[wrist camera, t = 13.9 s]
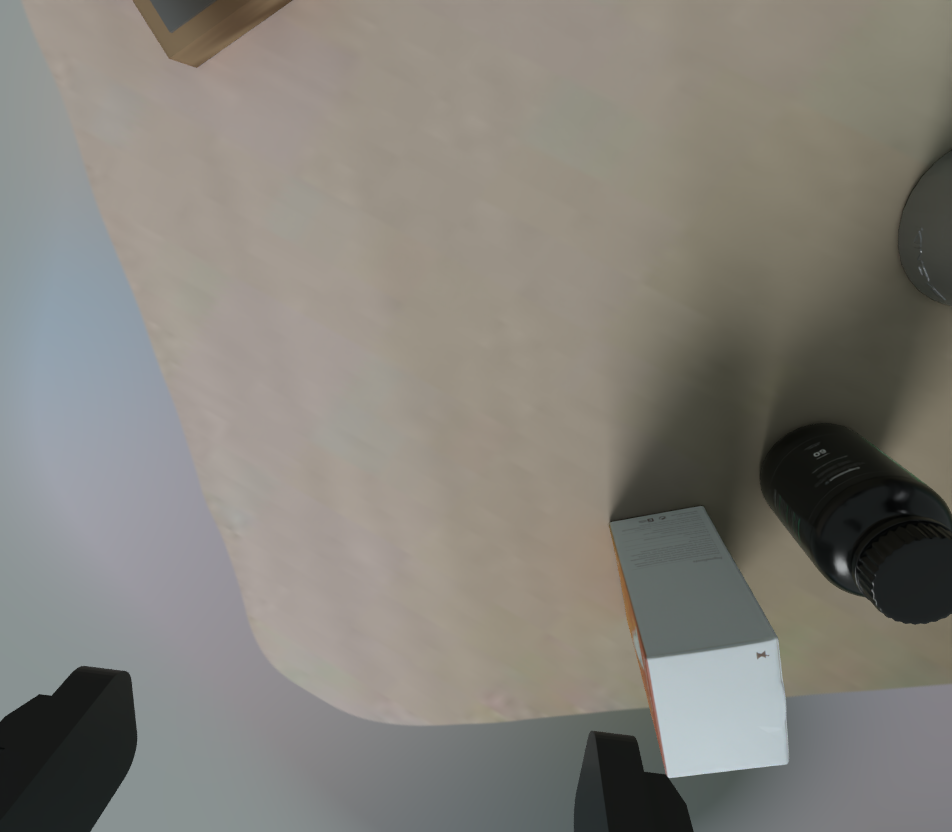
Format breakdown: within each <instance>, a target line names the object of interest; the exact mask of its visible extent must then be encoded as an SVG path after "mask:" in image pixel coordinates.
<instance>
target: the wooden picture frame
mask: <svg viewBox="0 0 952 832" xmlns="http://www.w3.org/2000/svg"><path fill="white" fill-rule="evenodd" d="M291 1H292V0H133V2H134V3H135V5H136V7H137V8H138V10H139V11H140V13H141V15H142V16H143V18H144V19H145V21H146V23H147V24H148V26H149V27H150V29H151V31H152V32H153V34H154V35H155V37H156V38H157V40H158V42H159V43H160V45H161V46H162V48H163V50H164V51H165V53H166V54H167V56H168V58H169V59H172V60H175V61H178V62H181V63H184V64H187V65H190V66H193V67H196V68H197V67H198V66H200V65H201V64H202V63H204V62H205V61H207V60H208V59H210V58H211V57H212V56H214V55H215V54H217V53H218V52H220V51H221V50H222V49H224V48H225V47H227V46H228V45H230V44H231V43H232V42H234V41H235V40H237V39H238V38H239V37H241V36H242V35H244V34H245V33H247V32H248V31H249V30H251V29H252V28H254V27H255V26H257V25H258V24H259V23H261V22H262V21H264V20H265V19H267V18H268V17H269V16H271V15H272V14H274V13H275V12H276V11H278V10H279V9H281V8H282V7H284V6H285V5H286V4H288V3H289V2H291Z"/></svg>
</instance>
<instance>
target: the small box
mask: <svg viewBox="0 0 952 832" xmlns="http://www.w3.org/2000/svg"><path fill="white" fill-rule="evenodd" d="M609 528H610V532H611V537H612V541H613V546H614V551H615V555H616V560H617V566H618V571H619V576H620V581H621V587H622V593H623V598H624V604H625V610H626V616H627V621H628V625H629V629H630V632H631V636H632V640H633V644H634V648H635V652H636V656H637V659H638V663H639V667H640V671H641V675H642V680H643V683H644V687H645V691H646V695H647V699H648V703H649V707H650V712H651V715H652V719H653V723H654V726H655V731H656V734H657V739H658V743H659V747H660V751H661V755H662V759H663V764H664V768H665V772H666V775H667V777H668V778H673V777H681V776H691V775H697V774H706V773H714V772H725V771H732V770H741V769H750V768H758V767H767V766H776V765H786V764H788V762H789V748H788V734H787V721H786V698H785V689H784V684H783V679H782V670H781V660H780V652H779V641H778V637H777V635H776V634H775V632H774V630H773V628H772V627H771V625H770V623H769V621H768V619H767V618H766V616H765V614H764V612H763V611H762V609H761V607H760V605H759V604H758V602H757V600H756V598H755V597H754V595H753V593H752V591H751V589H750V588H749V586H748V584H747V582H746V581H745V579H744V577H743V575H742V574H741V572H740V570H739V568H738V567H737V565H736V563H735V562H734V560H733V558H732V557H731V555H730V553H729V551H728V550H727V548H726V546H725V544H724V543H723V541H722V539H721V537H720V535H719V534H718V532H717V530H716V528H715V526H714V524H713V522H712V521H711V519H710V517H709V515H708V514H707V512H706V510H705V508H704V507H703V506H698V507H692V508H686V509H680V510H674V511H669V512H663V513H658V514H652V515H647V516H641V517H636V518H631V519H625V520H620V521H614V522H610V523H609Z"/></svg>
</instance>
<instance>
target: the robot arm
mask: <svg viewBox="0 0 952 832" xmlns="http://www.w3.org/2000/svg"><path fill="white" fill-rule="evenodd" d="M898 248H899V253H900V258H901V263H902V266H903V268H904V270H905V272H906V274H907V276H908V278H909V279H910V281H911V282H912V283H913V284H914V285H915V286H916V287H917V289H918V290H919V291H921V292H922V293H924V294H925V295H927V296H928V297H929V298H931V299H933V300H935V301H938V302H941V303H944V304H946V305H949V306H952V150H951V151H949V152H948V153H947V154H945V155H944V156H943V157H941V158H940V159H939V160H937V162H936V163H935V164H934V165H933V166H932V167H931V168H930V169H929V170H928V171H927V172H926V173H925V174H924V175H923V176H922V178H921V179H920V181H919V182H918V184H917V185H916V187H915V188H914V190H913V191H912V193H911V195H910V197H909V199H908V201H907V204H906V206H905V208H904V210H903V214H902V218H901V222H900V226H899V239H898ZM136 745H137V730H136V720H135V710H134V700H133V691H132V682H131V677H130V674H129V673H128V672H126V671H120V670H112V669H104V668H96V667H88V666H81V667H79V668H77V669H76V670H75V671H73V672H72V673H71V674H70V676H69V677H68V678H67V679H66V680H65V681H64V682H63V684H62V685H61V686H60V687H59V688H58V689H57V690H56V691H55V693H54V694H53V695H52V696H49V695H40V694H39V695H38V696H36V697H35V698H33V699H31V700H30V701H28V702H27V703H25V704H24V705H22V706H21V707H19V708H18V709H16V710H15V711H13V712H11V713H10V714H8V715H7V716H5V717H4V718H3V719H2V721H1V722H0V832H90V831H91V830H92V828H93V827H94V825H95V823H96V822H97V820H98V819H99V817H100V816H101V814H102V812H103V811H104V809H105V808H106V806H107V805H108V803H109V801H110V800H111V798H112V797H113V795H114V794H115V792H116V791H117V789H118V788H119V786H120V784H121V783H122V781H123V780H124V778H125V776H126V774H127V773H128V771H129V769H130V766H131V764H132V761H133V758H134V755H135V751H136ZM574 832H693V828H692V824H691V820H690V817H689V813H688V809H687V805H686V803H685V802H684V800H683V799H682V798H681V796H680V794H679V793H678V792H677V790H676V788H675V787H674V786H673V784H672V783H671V781H670V780H669V778H668V777H667V775H665V774H657V773H648V772H644V770H643V765H642V760H641V756H640V751H639V747H638V743H637V740H636V738H635V737H634V736H630V735H622V734H614V733H606V732H597V731H591V732H590V733H589V737H588V740H587V745H586V750H585V755H584V759H583V764H582V768H581V773H580V778H579V783H578V787H577V792H576V797H575V807H574Z"/></svg>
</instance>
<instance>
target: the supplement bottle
mask: <svg viewBox="0 0 952 832" xmlns="http://www.w3.org/2000/svg"><path fill="white" fill-rule="evenodd" d="M760 484H761V490H762V493H763V496H764V498H765V500H766V502H767V503H768V505H769V506H770V508H771V509H772V510H773V512H774V513H775V515H776V516H777V517H778V518H779V520H780V521H781V522H782V524H783V525H784V526H785V527H786V529H787V530H788V531H789V533H790V534H791V535H792V536H793V538H794V539H795V540H796V542H797V543H798V544H799V546H800V547H801V548H802V549H803V551H804V552H805V553H806V555H807V556H808V557H809V558H810V560H811V561H812V562H813V564H814V565H815V566H816V567H817V569H818V570H819V571H820V572H821V573H822V575H823V576H824V577H825V578H826V579H827V580H828V581H829V582H830V583H832V584H833V585H835V586H836V587H837V588H839V589H841V590H843V591H845V592H848V593H850V594H853V595H857V596H861V597H866V598H867V599H868V600H870V601H871V602H872V603H873V605H874V606H875V607H876V608H877V609H878V610H879V611H880V612H882V613H883V614H884V615H885V616H886V617H888V618H892V619H893V620H895V621H898V622H899V621H900V622H903V623H905V624H908V623H912V624H915V625H916V624H919V623H922V624H927V623H929V622H936V621H938V620H939V619H942V618H946V617H947V616H949V615H950V614H952V514H951V512H950V509H949V507H948V506H947V504H946V503H945V501H944V500H943V499H942V498H941V497H940V496H939V495H938V494H937V493H936V492H935V491H934V490H933V489H931V488H930V487H929V486H927V485H926V484H925V483H923V482H922V481H921V480H919V479H918V478H917V477H915V476H914V475H913V474H911V473H910V472H909V471H907V470H906V469H905V468H903V467H902V466H901V465H899V464H898V463H897V462H895V461H894V460H893V459H891V458H890V457H889V456H887V455H886V454H885V453H883V452H882V451H881V450H879V449H878V448H877V447H875V446H874V445H873V444H871V443H870V442H869V441H867V440H866V439H865V438H863V437H862V436H860V435H859V434H858V433H856V432H854V431H853V430H851V429H849V428H846V427H844V426H840V425H836V424H828V423H821V424H812V425H808V426H804V427H801V428H799V429H796V430H794V431H792V432H790V433H789V434H787V435H785V436H784V437H783V438H781V439H780V440H779V441H778V442H777V443H776V444H775V445H774V446H773V447H772V449H771V450H770V451H769V453H768V454H767V456H766V458H765V460H764V463H763V465H762V469H761V474H760Z"/></svg>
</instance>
